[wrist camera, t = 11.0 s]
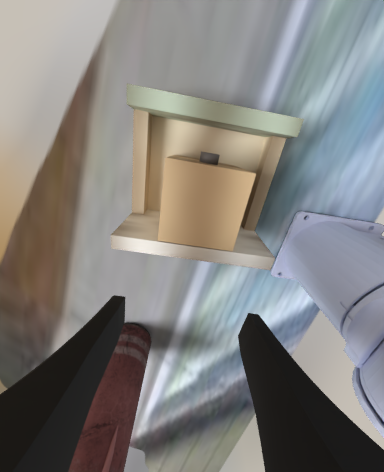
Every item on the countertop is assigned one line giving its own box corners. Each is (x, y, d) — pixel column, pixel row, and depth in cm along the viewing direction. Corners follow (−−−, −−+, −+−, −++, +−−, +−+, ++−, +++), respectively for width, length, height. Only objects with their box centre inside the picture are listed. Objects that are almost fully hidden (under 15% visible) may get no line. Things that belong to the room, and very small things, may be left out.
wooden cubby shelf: (278, 119, 15) (344, 96, 8) (244, 229, 19) (270, 270, 13) (143, 92, 14) (103, 44, 8) (139, 214, 18) (111, 248, 12)
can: (160, 332, 26) (131, 504, 13) (138, 353, 28) (95, 519, 16) (122, 314, 24) (48, 491, 12) (103, 338, 27) (22, 509, 14)
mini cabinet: (235, 157, 15) (259, 162, 10) (219, 219, 17) (232, 251, 12) (175, 146, 15) (166, 144, 9) (168, 211, 17) (157, 240, 12)
